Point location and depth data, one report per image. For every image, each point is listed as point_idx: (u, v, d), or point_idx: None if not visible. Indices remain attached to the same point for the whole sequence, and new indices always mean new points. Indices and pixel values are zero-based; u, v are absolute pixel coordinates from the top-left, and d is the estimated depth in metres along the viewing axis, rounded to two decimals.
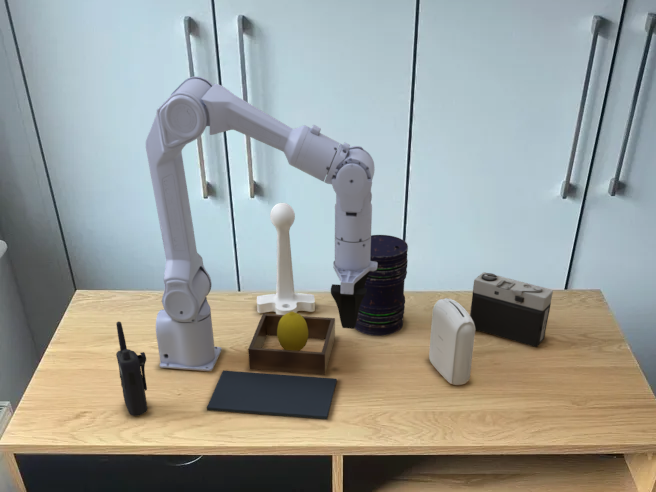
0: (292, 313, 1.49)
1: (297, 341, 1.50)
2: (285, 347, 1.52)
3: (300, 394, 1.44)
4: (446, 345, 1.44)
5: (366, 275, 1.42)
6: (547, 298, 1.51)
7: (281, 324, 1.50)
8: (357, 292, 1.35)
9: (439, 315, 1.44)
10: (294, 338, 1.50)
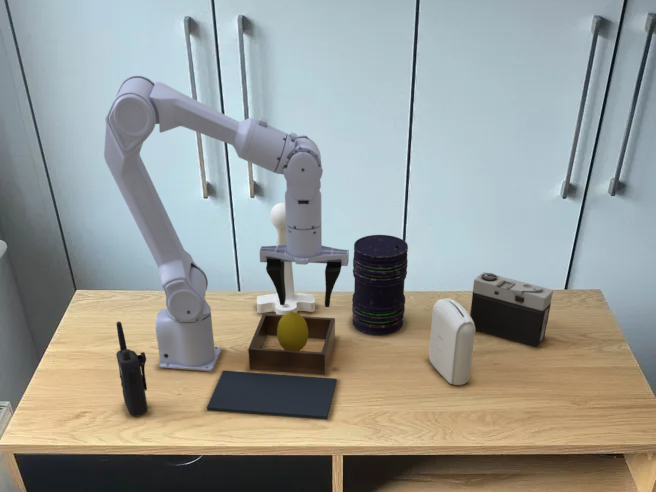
0: (292, 313, 1.49)
1: (297, 341, 1.50)
2: (285, 347, 1.52)
3: (300, 394, 1.44)
4: (446, 345, 1.44)
5: None
6: (547, 298, 1.51)
7: (281, 324, 1.50)
8: (271, 266, 1.41)
9: (439, 315, 1.44)
10: (294, 338, 1.50)
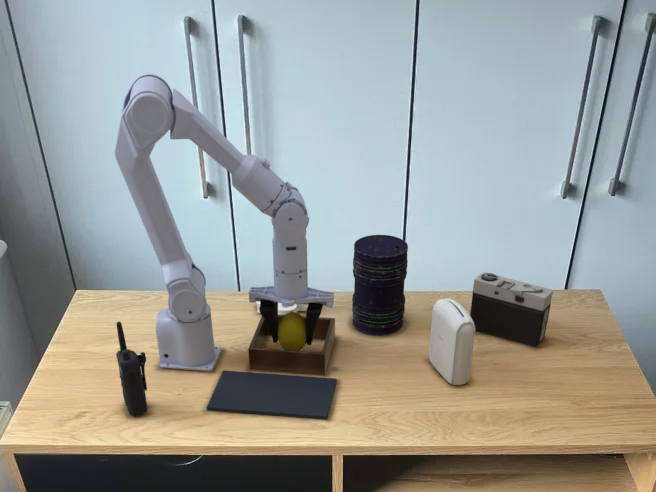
0: (292, 313, 1.49)
1: (297, 341, 1.50)
2: (285, 347, 1.52)
3: (300, 394, 1.44)
4: (446, 345, 1.44)
5: None
6: (547, 298, 1.51)
7: (281, 324, 1.50)
8: (264, 307, 1.48)
9: (439, 315, 1.44)
10: (294, 338, 1.50)
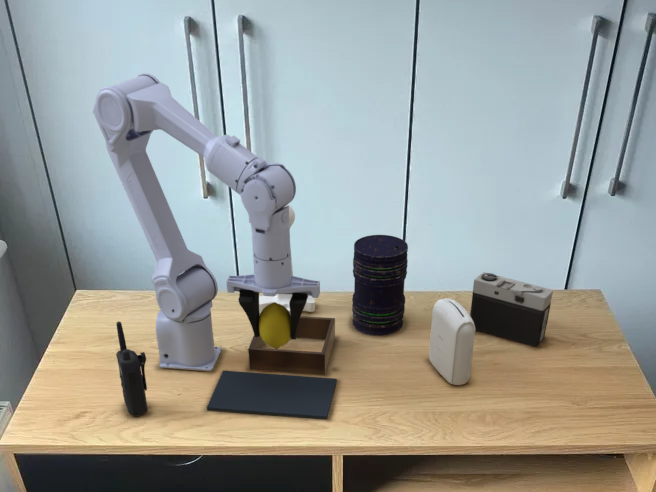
0: (274, 304, 1.36)
1: (281, 335, 1.38)
2: (267, 341, 1.39)
3: (300, 394, 1.44)
4: (446, 345, 1.44)
5: (290, 309, 1.35)
6: (547, 298, 1.51)
7: (262, 316, 1.37)
8: (243, 297, 1.35)
9: (439, 315, 1.44)
10: (277, 331, 1.37)
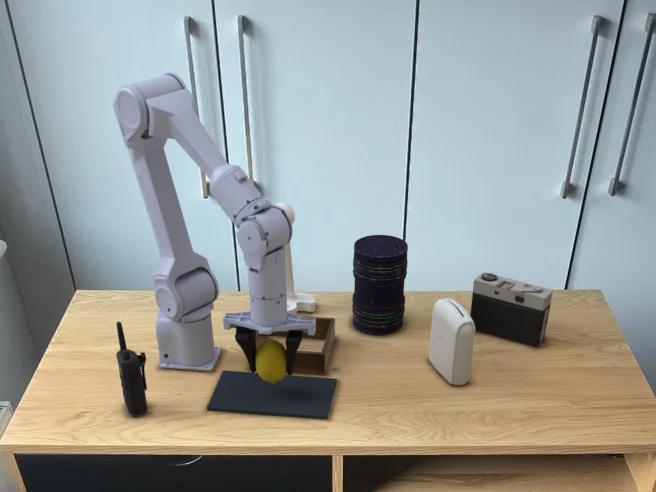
0: (271, 341, 1.37)
1: (277, 371, 1.38)
2: (264, 377, 1.40)
3: (300, 394, 1.44)
4: (446, 345, 1.44)
5: (286, 346, 1.36)
6: (547, 298, 1.51)
7: (258, 353, 1.38)
8: (240, 334, 1.36)
9: (439, 315, 1.44)
10: (273, 367, 1.38)
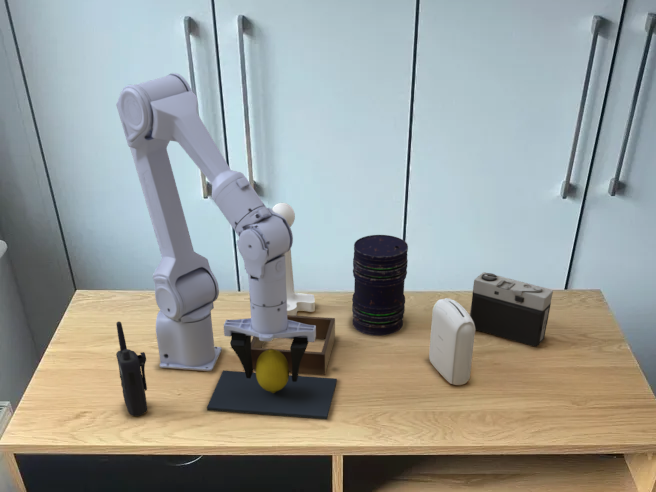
0: (271, 350, 1.38)
1: (277, 380, 1.40)
2: (264, 386, 1.41)
3: (300, 394, 1.44)
4: (446, 345, 1.44)
5: (291, 353, 1.36)
6: (547, 298, 1.51)
7: (259, 362, 1.39)
8: (235, 341, 1.37)
9: (439, 315, 1.44)
10: (273, 377, 1.39)
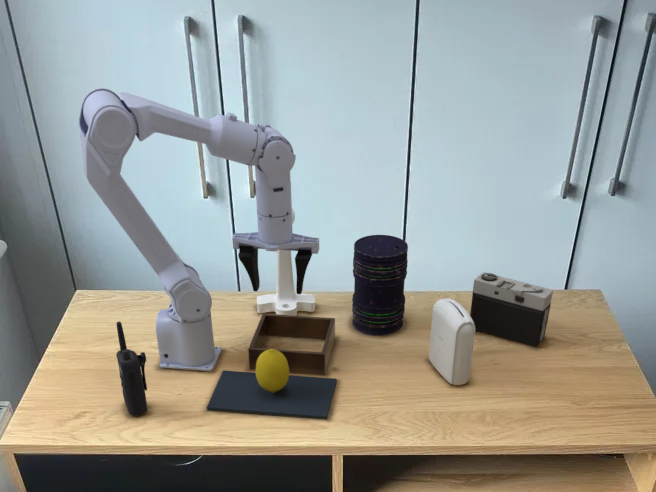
0: (271, 350, 1.38)
1: (277, 380, 1.40)
2: (264, 386, 1.41)
3: (300, 394, 1.44)
4: (446, 345, 1.44)
5: (296, 265, 1.44)
6: (547, 298, 1.51)
7: (259, 362, 1.39)
8: (243, 253, 1.45)
9: (439, 315, 1.44)
10: (273, 377, 1.39)
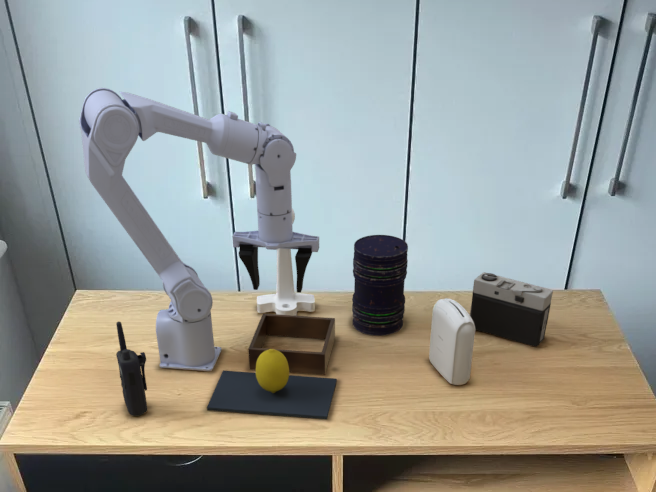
0: (271, 350, 1.38)
1: (277, 380, 1.40)
2: (264, 386, 1.41)
3: (300, 394, 1.44)
4: (446, 345, 1.44)
5: (296, 263, 1.45)
6: (547, 298, 1.51)
7: (259, 362, 1.39)
8: (243, 251, 1.45)
9: (439, 315, 1.44)
10: (273, 377, 1.39)
